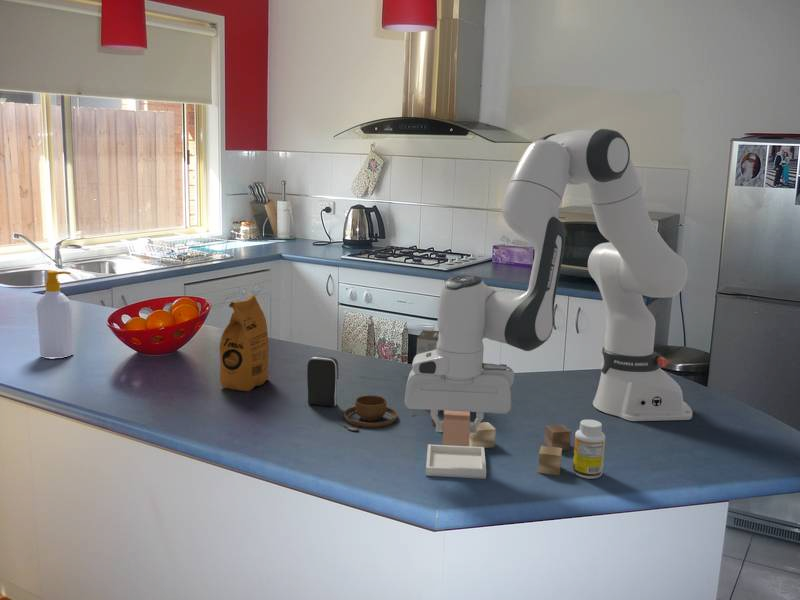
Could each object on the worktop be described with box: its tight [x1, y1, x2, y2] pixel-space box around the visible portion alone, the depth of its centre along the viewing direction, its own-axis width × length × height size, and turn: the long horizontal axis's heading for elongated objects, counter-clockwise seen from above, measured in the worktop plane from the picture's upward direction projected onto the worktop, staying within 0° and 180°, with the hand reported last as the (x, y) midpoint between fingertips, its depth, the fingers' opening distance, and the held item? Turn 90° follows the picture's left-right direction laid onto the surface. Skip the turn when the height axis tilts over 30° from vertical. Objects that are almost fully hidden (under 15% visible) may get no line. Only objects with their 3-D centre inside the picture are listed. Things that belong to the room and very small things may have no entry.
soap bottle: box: [36, 270, 75, 357], centre depth 213 cm, size 9×9×24 cm
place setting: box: [343, 394, 441, 432], centre depth 170 cm, size 18×20×6 cm
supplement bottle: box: [572, 419, 606, 480], centre depth 146 cm, size 6×6×10 cm
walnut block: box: [544, 424, 572, 451], centre depth 160 cm, size 4×4×4 cm
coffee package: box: [219, 294, 269, 392], centre depth 193 cm, size 10×12×22 cm
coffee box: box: [415, 329, 439, 356], centre depth 186 cm, size 9×6×16 cm
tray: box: [425, 443, 487, 480], centre depth 150 cm, size 11×11×2 cm
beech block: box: [469, 421, 496, 449], centre depth 160 cm, size 5×4×4 cm
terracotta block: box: [442, 410, 471, 446], centre depth 148 cm, size 5×5×5 cm
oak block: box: [537, 445, 563, 476], centre depth 148 cm, size 4×4×4 cm
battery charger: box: [306, 355, 339, 408], centre depth 181 cm, size 7×4×11 cm, turn 75°
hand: (456, 431), depth 148 cm, fingers closed on terracotta block, 5 cm apart
